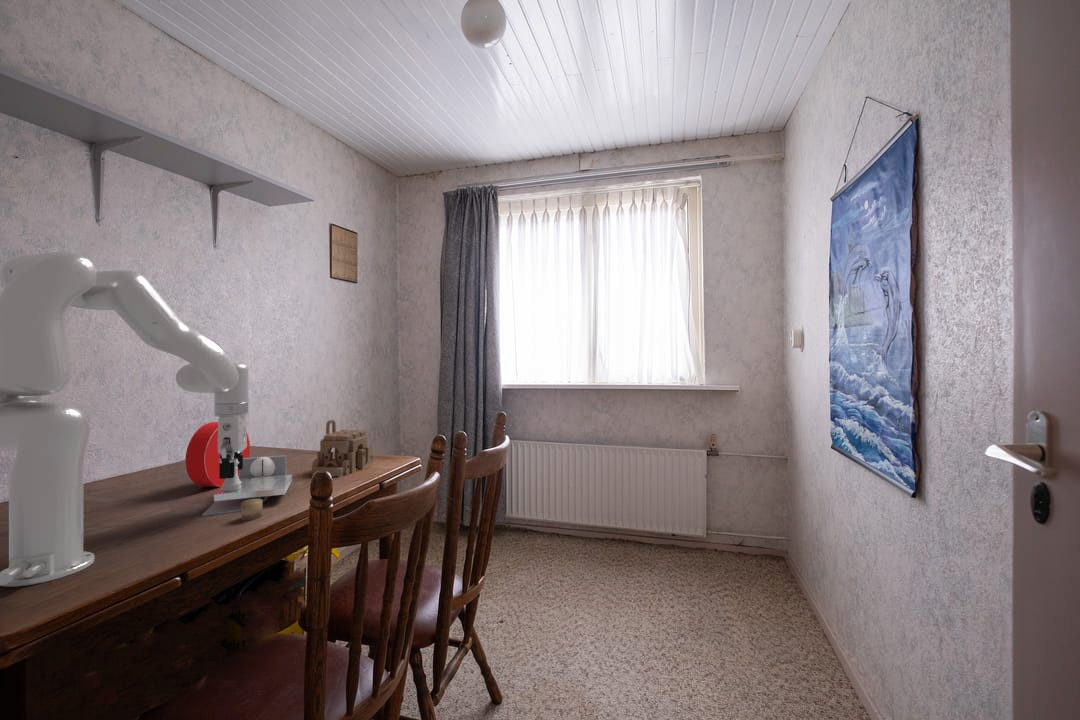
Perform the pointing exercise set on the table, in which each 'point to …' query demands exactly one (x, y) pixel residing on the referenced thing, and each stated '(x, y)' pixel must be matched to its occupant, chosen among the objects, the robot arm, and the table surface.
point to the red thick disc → (206, 456)
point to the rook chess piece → (232, 481)
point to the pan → (257, 488)
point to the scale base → (250, 470)
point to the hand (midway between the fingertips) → (231, 473)
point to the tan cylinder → (251, 509)
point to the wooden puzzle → (342, 451)
